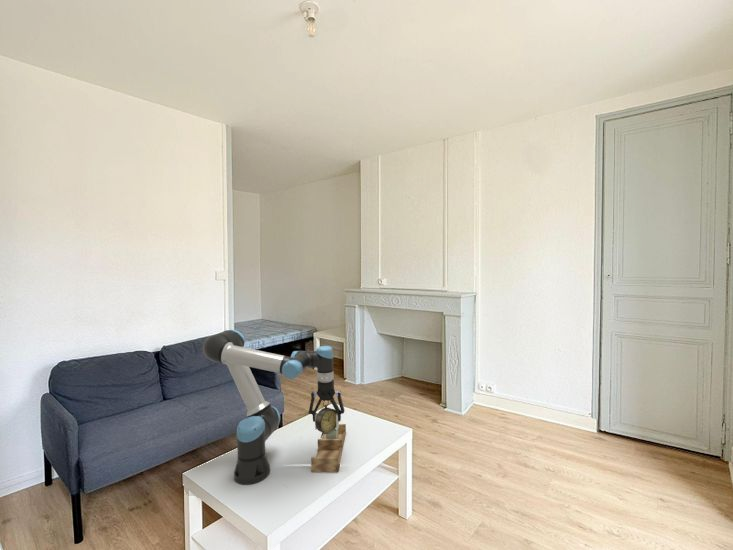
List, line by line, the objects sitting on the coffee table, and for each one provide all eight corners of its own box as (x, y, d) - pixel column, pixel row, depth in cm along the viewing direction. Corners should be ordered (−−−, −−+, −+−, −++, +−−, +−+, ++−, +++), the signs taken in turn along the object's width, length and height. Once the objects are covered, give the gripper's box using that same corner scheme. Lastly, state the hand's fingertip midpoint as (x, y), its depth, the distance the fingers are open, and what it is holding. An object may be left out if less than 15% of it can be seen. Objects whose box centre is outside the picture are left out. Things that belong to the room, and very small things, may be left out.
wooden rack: (311, 472, 155) (311, 458, 155) (323, 435, 188) (323, 424, 188) (338, 472, 154) (338, 458, 154) (345, 435, 187) (345, 423, 187)
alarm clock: (321, 440, 157) (320, 404, 156) (313, 436, 161) (312, 401, 160) (339, 431, 165) (338, 397, 164) (332, 427, 168) (331, 394, 168)
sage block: (326, 445, 175) (325, 430, 174) (329, 436, 184) (328, 421, 183) (336, 445, 174) (335, 430, 174) (338, 436, 183) (338, 421, 183)
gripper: (300, 383, 159) (302, 432, 159) (348, 382, 158) (349, 431, 158) (304, 377, 166) (305, 424, 167) (349, 377, 165) (351, 424, 166)
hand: (327, 428), depth 163 cm, fingers closed on alarm clock, 9 cm apart
